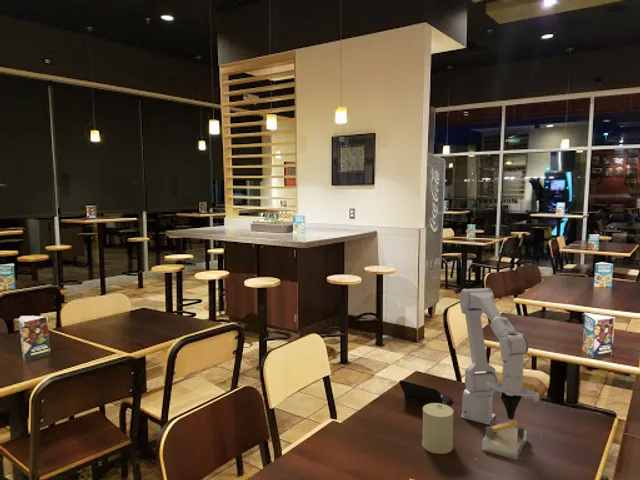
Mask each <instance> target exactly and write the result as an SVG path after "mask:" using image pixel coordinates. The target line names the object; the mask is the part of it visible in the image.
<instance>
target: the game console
mask: <svg viewBox="0 0 640 480" xmlns="http://www.w3.org/2000/svg"><path fill="white" fill-rule="evenodd" d="M398 382H399V385H400V387H401V390H402V392H403V394H404V397H403V398H404V399H405V400H408V399H409V401H412V402H415V401H416V402H415V403H419V402H420V403H419V404H424V403H425V404H424V405H426V404H430V403H441V404H445V405H448V406H449V404H450V403H452V401H453V397H452V396H449V395H445V394H442V393H441V392H440V391H439V390H438V389H436V388H432V387H429V386H425V385H421V384H418V383H414V382H409V381H406V380H399V381H398Z"/></svg>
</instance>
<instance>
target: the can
mask: <svg viewBox="0 0 640 480" xmlns="http://www.w3.org/2000/svg"><path fill="white" fill-rule="evenodd" d="M454 413H455V412H454V409H453V408H452V407H451V406H449V404H448V405H445V404H441V403H430V404H424V405H423V407H422V442H421V445H422V447H423V448H424V449H425V450H426V451H427V452H430V453H433V454H437V455H442V454H448V453H451V451H453V449H454V445H453V442H454V441H453V440H454V439H453V436H454V435H453V433H454V428H453V427H454Z"/></svg>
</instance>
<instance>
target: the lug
mask: <svg viewBox="0 0 640 480" xmlns="http://www.w3.org/2000/svg"><path fill="white" fill-rule="evenodd" d="M517 429H518V436H521V437H523V436H524V430H525V429H526V428H525V426H521V425H519V426H518V427H517Z"/></svg>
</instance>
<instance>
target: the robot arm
mask: <svg viewBox="0 0 640 480" xmlns="http://www.w3.org/2000/svg"><path fill="white" fill-rule="evenodd" d="M459 306H460V311H461V313H462V314H463V315H465V316H464V317H465V321H466V323H465V324H466V330H467V337H468V345H469V351H470V359H471V364H470V365H469V366H467V368H466V369H465V370H464V376H465V377H464V385H465V389H464V390H463V393H462V399H461V414H460V415H461V418H462V419H466V420H470V421H473V422H477V423H481V424H484V425H489V426H490V420H494V418H495V417H496V414H495V413H493V395H495V394H496V393H495V392H498V393H501V395H500V399H501V401H502V402H503V405H504V408H505V411H506V415H507V419H509V420H511V421H512V420H514V418H515V415H516V414H515V413H516V411H517V407H518V405H519V403H520V401H521V400H522V399H523V398H524V399H528V400H533V401H534V402H538V401H539V397H540V393H539V392H536V391H533V390H530V389H527V388H524V386H523V382H524V381H523V380H524V361H525V360H524V359H525V357H524V356H525V354H527V353H528V351H529V348H530V347H529V341H528V339H527V337H526V335H525V334H524V333H521V332H519V331H517V330H516V329H515V327H514V326H513V324H512V323H511V322H510V320H509V319H508V317H506V316H502V315H501V313H500V311H499V309H498V308H497V306H496V304H495V296H494V293H493V290H492V289H491V288H490V287H485V288H484V287H483V288H481V287H480V288H463V289H462V290H461V291H460V294H459ZM483 314H484V315H485V316H486V317H487V318H488V320H489V321H490V322H491V323H490V329H491V330H492V331H493V333H494V335H495V337H496V338H497V339H498V342H499V344H498V345H499V350H500V356H501V359H502V370H501V371H502V377H501V383H500V382H499V378H498V374H497V372H496V368H495V367H494V366H492V365H491V364H490V363H488V357H487V350H486V344H485V338H484V337H485V336H484V332H483V331H484V330H483V325H482V323H483V322H482V315H483Z"/></svg>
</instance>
